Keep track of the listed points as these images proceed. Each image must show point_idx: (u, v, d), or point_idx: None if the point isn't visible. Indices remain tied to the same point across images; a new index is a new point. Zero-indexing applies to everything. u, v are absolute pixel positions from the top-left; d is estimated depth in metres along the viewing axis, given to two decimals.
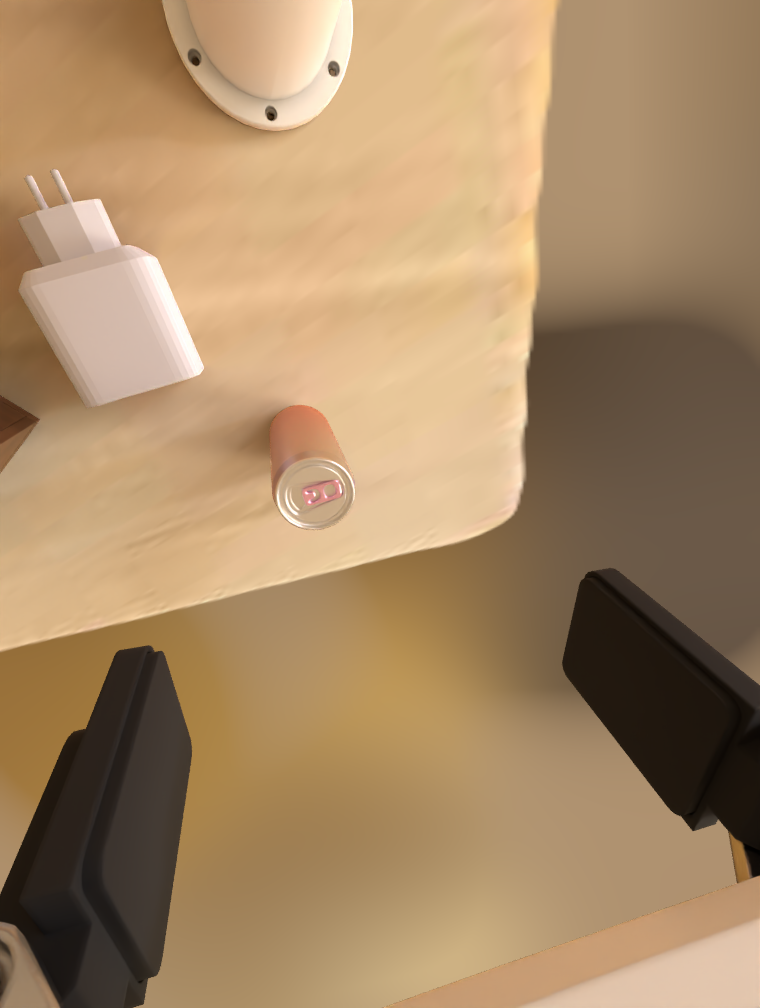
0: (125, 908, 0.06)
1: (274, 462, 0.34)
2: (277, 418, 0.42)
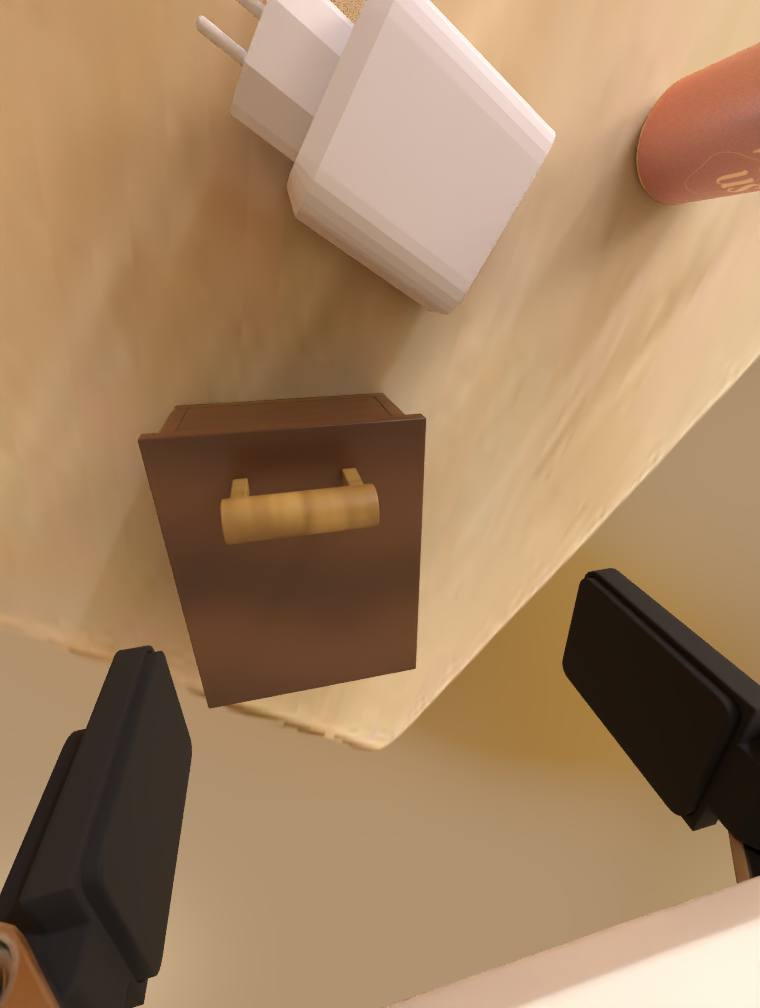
0: (125, 908, 0.06)
1: None
2: (658, 131, 0.24)
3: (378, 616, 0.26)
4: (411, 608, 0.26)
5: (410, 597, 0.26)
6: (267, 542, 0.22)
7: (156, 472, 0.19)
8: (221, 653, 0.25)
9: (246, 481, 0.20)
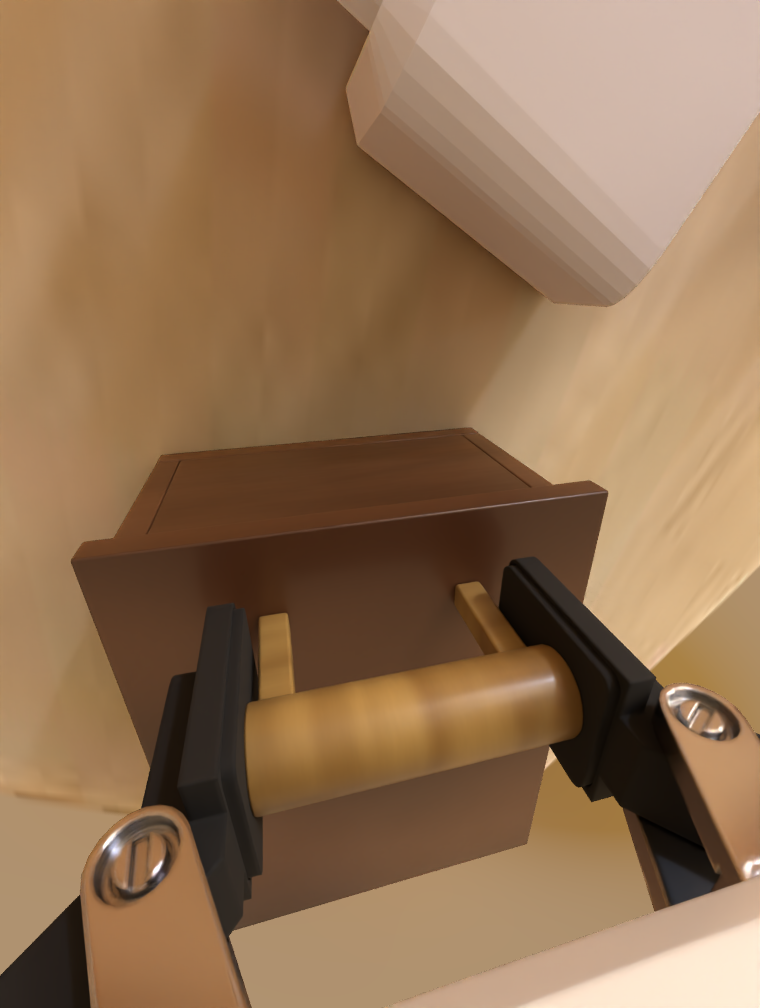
0: (246, 808, 0.07)
1: None
2: None
3: (483, 788, 0.16)
4: (534, 772, 0.17)
5: (535, 758, 0.16)
6: None
7: (112, 615, 0.10)
8: None
9: (286, 622, 0.11)
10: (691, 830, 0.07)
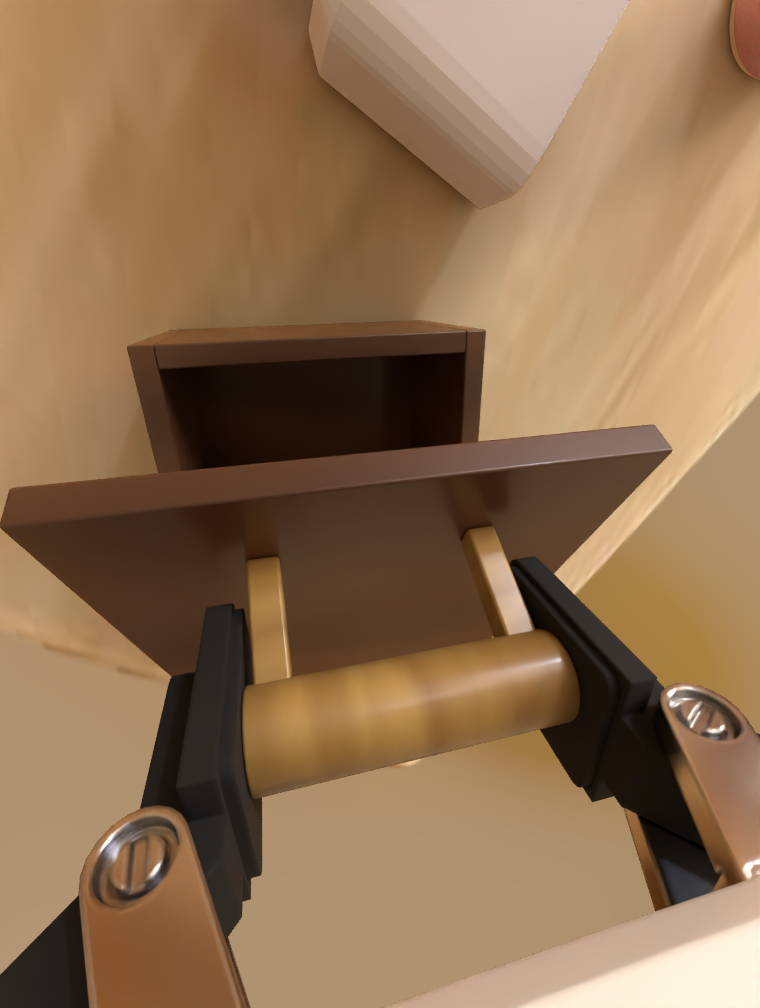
0: (245, 808, 0.07)
1: None
2: None
3: (445, 640, 0.19)
4: (491, 630, 0.19)
5: None
6: (306, 610, 0.13)
7: (71, 566, 0.08)
8: None
9: (278, 571, 0.09)
10: (692, 830, 0.07)
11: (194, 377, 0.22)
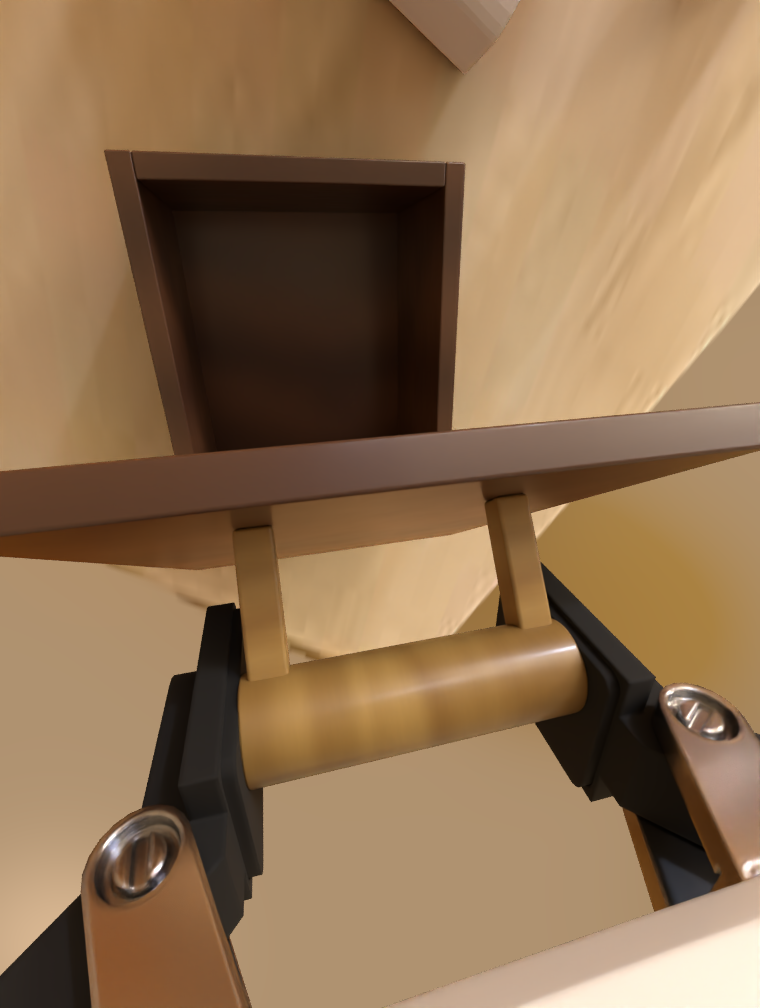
0: (247, 807, 0.07)
1: None
2: None
3: (434, 531, 0.18)
4: (482, 525, 0.19)
5: None
6: (298, 537, 0.11)
7: (10, 551, 0.07)
8: (211, 563, 0.17)
9: (272, 547, 0.08)
10: (691, 830, 0.07)
11: (178, 242, 0.22)
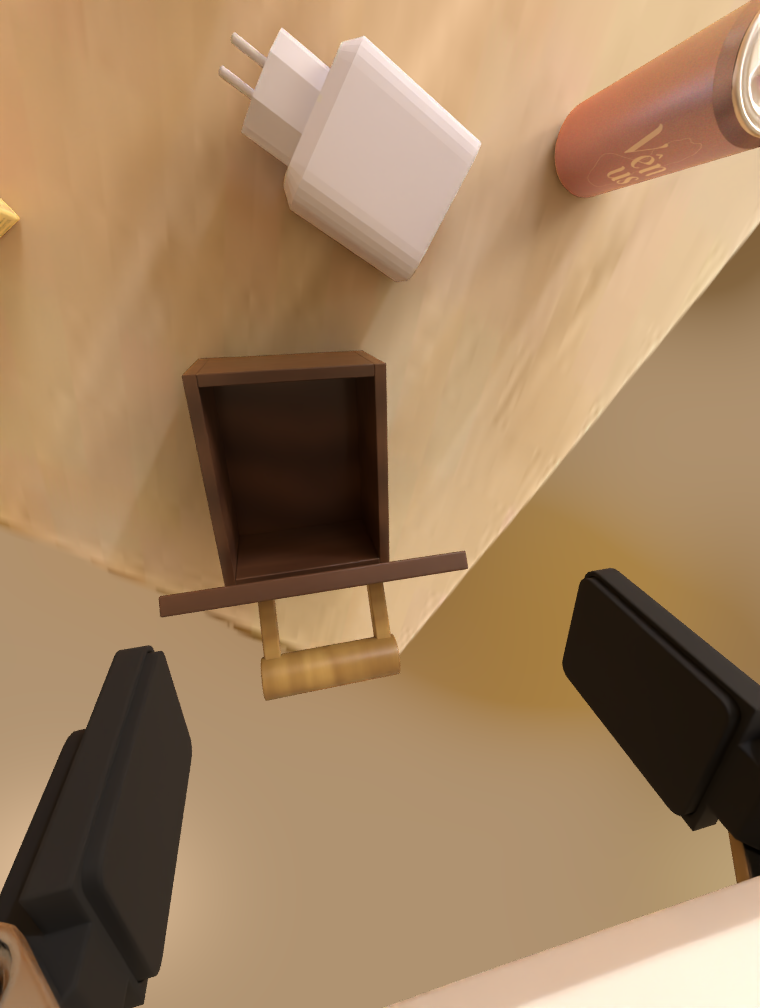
0: (125, 908, 0.06)
1: (673, 108, 0.24)
2: (566, 140, 0.32)
3: None
4: None
5: None
6: None
7: None
8: None
9: (273, 607, 0.20)
10: None
11: (213, 388, 0.34)
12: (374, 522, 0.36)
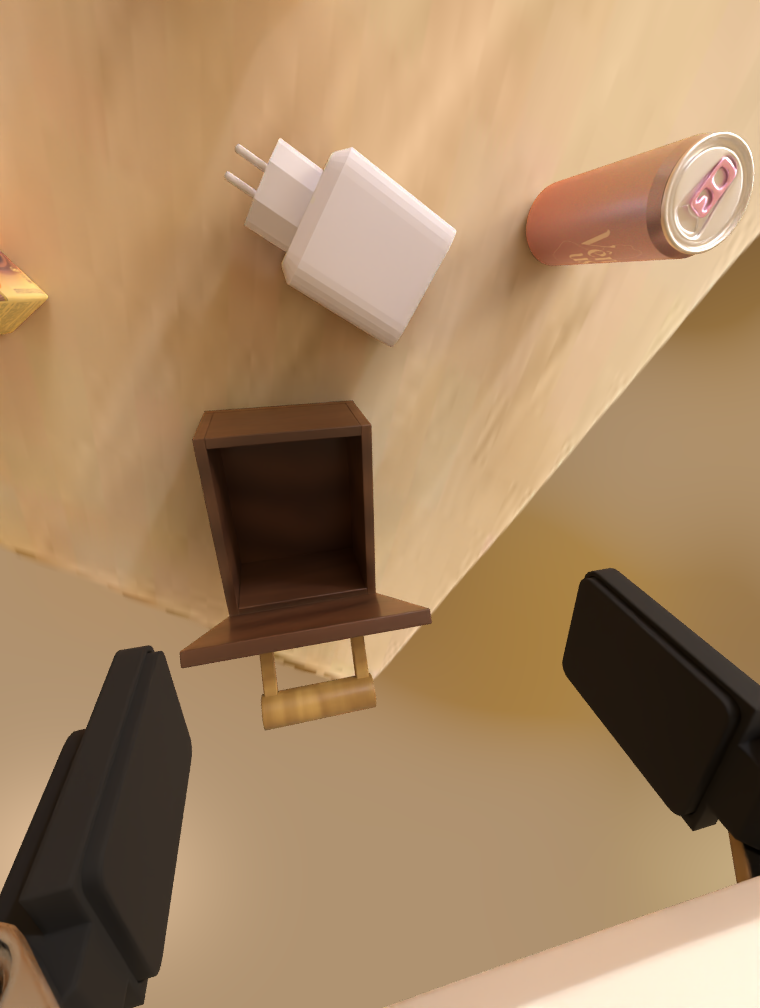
0: (125, 908, 0.06)
1: (617, 220, 0.27)
2: (535, 220, 0.35)
3: None
4: None
5: None
6: None
7: None
8: None
9: (272, 653, 0.24)
10: None
11: None
12: (362, 555, 0.40)
